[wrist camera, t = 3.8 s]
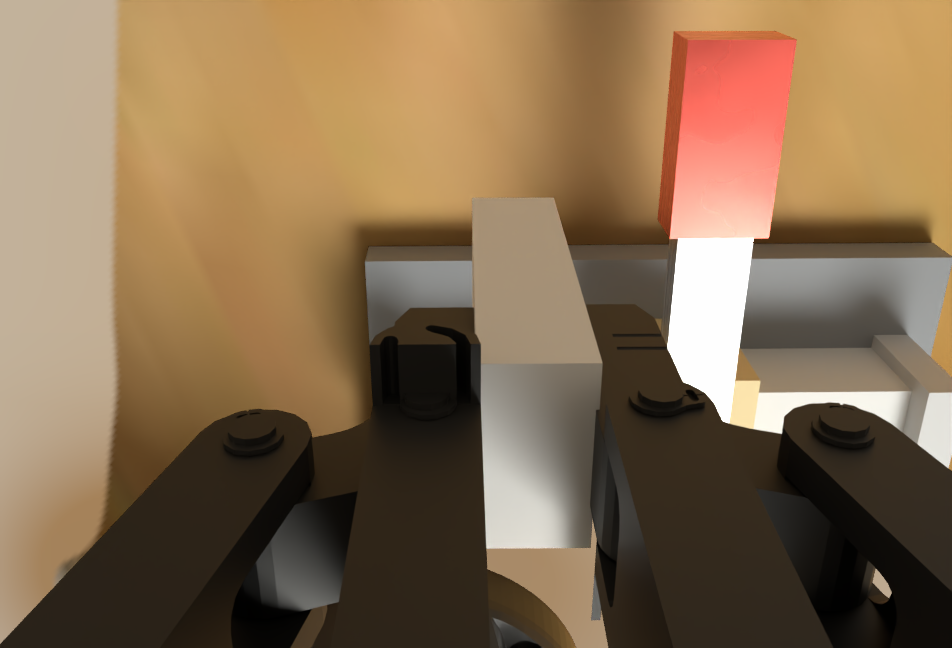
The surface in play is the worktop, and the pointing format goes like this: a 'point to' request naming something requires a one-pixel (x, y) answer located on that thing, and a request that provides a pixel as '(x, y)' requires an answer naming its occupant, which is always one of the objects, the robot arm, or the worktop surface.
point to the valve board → (757, 321)
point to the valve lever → (718, 191)
